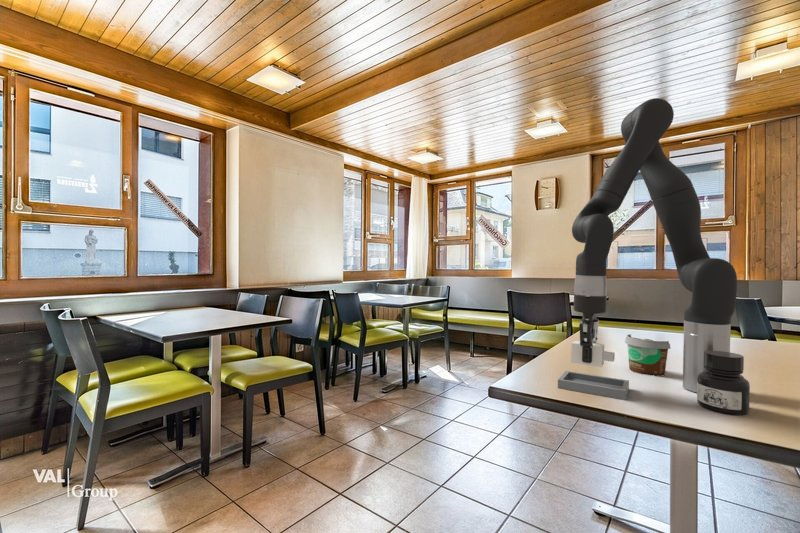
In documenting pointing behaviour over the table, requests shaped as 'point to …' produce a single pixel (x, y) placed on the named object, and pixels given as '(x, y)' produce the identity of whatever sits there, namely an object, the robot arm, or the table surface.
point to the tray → (594, 384)
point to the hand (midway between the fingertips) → (588, 360)
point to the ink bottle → (723, 383)
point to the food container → (647, 355)
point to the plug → (597, 354)
